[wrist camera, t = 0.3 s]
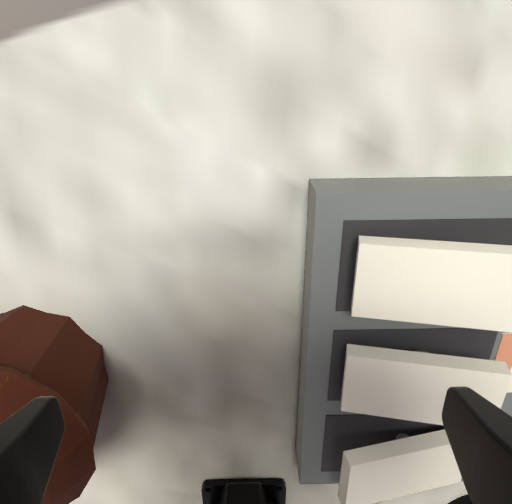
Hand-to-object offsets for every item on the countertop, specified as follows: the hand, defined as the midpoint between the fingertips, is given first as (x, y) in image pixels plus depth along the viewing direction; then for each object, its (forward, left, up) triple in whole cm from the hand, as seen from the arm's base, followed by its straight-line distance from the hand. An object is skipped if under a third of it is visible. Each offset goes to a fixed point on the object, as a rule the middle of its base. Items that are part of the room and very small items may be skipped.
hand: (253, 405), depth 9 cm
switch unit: (-9, -10, -14) cm, 19 cm away
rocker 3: (-15, -9, -10) cm, 21 cm away
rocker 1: (-2, -9, -10) cm, 14 cm away
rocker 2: (-9, -9, -10) cm, 16 cm away
